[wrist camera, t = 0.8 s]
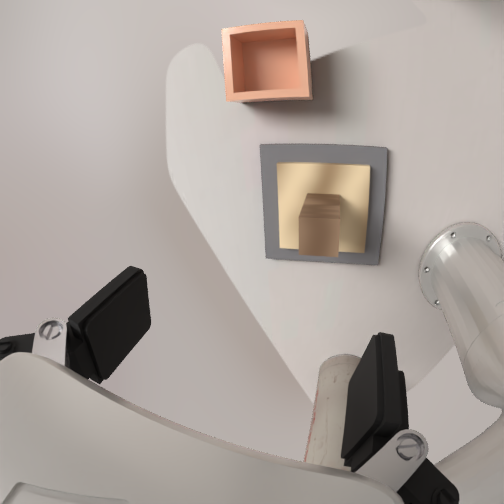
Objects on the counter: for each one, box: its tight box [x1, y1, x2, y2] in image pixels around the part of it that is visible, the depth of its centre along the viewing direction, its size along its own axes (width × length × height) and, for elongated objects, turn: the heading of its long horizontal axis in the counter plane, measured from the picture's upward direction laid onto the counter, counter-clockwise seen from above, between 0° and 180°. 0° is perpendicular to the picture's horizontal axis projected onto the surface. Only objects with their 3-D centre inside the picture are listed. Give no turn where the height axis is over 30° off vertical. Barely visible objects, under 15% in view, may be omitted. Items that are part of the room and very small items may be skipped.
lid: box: [277, 162, 370, 257], centre depth 29 cm, size 10×10×9 cm
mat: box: [260, 144, 387, 265], centre depth 33 cm, size 14×14×1 cm
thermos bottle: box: [303, 355, 361, 472], centre depth 32 cm, size 8×8×28 cm
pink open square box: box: [222, 20, 313, 103], centre depth 26 cm, size 8×8×5 cm
